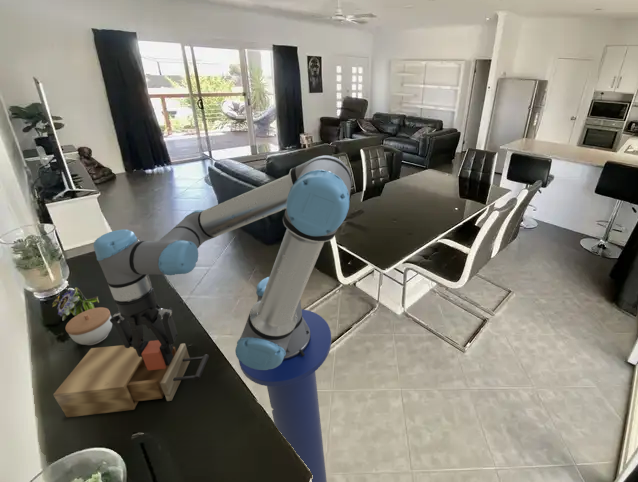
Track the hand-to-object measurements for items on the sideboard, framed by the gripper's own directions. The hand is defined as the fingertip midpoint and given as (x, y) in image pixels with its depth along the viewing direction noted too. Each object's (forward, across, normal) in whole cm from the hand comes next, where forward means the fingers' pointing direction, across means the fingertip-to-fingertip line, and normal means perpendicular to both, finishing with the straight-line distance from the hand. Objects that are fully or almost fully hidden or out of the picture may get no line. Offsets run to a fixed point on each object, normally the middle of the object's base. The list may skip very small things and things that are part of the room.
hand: (159, 362), depth 86 cm
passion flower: (+8, +43, -32) cm, 54 cm away
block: (0, 0, 0) cm, 0 cm away
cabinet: (+8, +13, 0) cm, 15 cm away
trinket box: (+8, +30, -20) cm, 37 cm away
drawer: (+7, 0, 0) cm, 7 cm away
